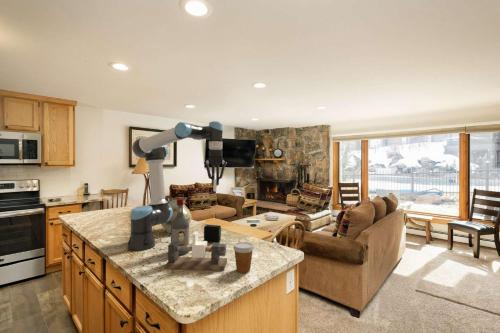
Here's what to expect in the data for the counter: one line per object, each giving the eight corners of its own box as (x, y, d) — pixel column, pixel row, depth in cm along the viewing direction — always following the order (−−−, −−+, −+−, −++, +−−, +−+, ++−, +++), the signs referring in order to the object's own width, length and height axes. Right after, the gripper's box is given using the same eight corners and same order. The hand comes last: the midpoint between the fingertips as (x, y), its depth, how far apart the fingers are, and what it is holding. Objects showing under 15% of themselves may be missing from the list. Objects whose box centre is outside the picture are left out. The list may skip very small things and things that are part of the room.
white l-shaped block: (192, 257, 118) (192, 234, 118) (195, 252, 124) (195, 231, 124) (204, 257, 118) (204, 234, 118) (207, 253, 124) (207, 231, 124)
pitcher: (186, 235, 169) (186, 199, 169) (152, 235, 169) (152, 199, 169) (194, 227, 191) (194, 195, 191) (164, 227, 192) (164, 195, 192)
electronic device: (218, 243, 155) (218, 227, 155) (203, 241, 157) (203, 226, 157) (220, 240, 159) (220, 225, 159) (206, 239, 161) (206, 224, 161)
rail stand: (165, 268, 117) (165, 246, 117) (172, 260, 127) (173, 240, 127) (224, 270, 115) (224, 248, 115) (227, 262, 125) (227, 241, 125)
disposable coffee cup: (233, 266, 120) (233, 241, 120) (252, 265, 121) (252, 241, 121) (233, 275, 111) (233, 248, 111) (254, 274, 112) (254, 248, 111)
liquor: (170, 251, 140) (170, 198, 140) (186, 248, 144) (187, 197, 143) (172, 256, 132) (172, 200, 131) (189, 254, 136) (190, 199, 135)
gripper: (202, 148, 135) (202, 191, 136) (226, 149, 135) (225, 192, 135) (205, 149, 143) (205, 190, 143) (228, 149, 142) (227, 190, 143)
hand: (215, 191), depth 139 cm, fingers closed
